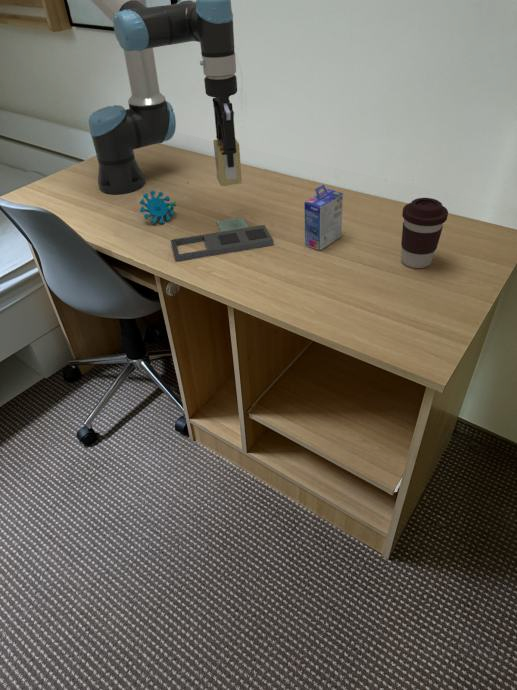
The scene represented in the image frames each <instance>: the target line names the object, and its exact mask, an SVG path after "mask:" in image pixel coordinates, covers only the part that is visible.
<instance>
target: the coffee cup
mask: <svg viewBox="0 0 517 690" xmlns="http://www.w3.org/2000/svg"><path fill="white" fill-rule="evenodd" d="M401 212H402V214H401V215H402V218H403V219H404V220H403V223H402V231H401V256H400V261H401V262H402V264H403V265H405V266H407V267H409V268H413V269H423V268H426V267H428V266H431V264H432V261H433V259H434V256H435V252H436V250H437V248H438V244H439V241H440V238H441V236H442V235H441V234H442V231H443V226H444V225H443V224H444V223H445V222H446V221H447V220H448V217H449V211H448V209H447V207H445V206H444V205H443V203H442V202H441V201H439V200H438V199H435V198H432V197H419V198H416V199H412V201H411V202H410V203H407V204H405V205H404V206H403V208H402V211H401Z"/></svg>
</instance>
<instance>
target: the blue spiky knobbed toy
mask: <svg viewBox="0 0 517 690" xmlns="http://www.w3.org/2000/svg"><path fill="white" fill-rule="evenodd" d="M149 194H150V196H151V198H149ZM155 195H156V191H155V190H150V193H147V192H146V193H144V194H143V195H142V196H143V198H141V199H140V200H139V204H140V205H143V206H140V209H139V210H140V211H139V212H141V213H144V212H145V213H144V215H143V216H144V219H145V220H148V219H149V218H150V217H153V218H151V220H150V222H151V223H152V224H156V222H157V219H158V218H160V219H159V222H158V223H159V225H164V223H165V220H166V222H170V221H171V219H172V217H171V216H174V213H175V211H174V208H175V207H176V206H177V204H178V202H177V201H176V200H174V201H173V202H169V201H170V200H171V198H170V196H169V195H166V196H165V197H163V195H164V193H163V192H162V191H160V190H159V191H158V193H157V196H156V197H154V196H155ZM161 197H163V198H161ZM145 200H146V202H147V203H146V202H145ZM168 202H169V203H168ZM144 206H145V207H146V208H145V207H144ZM146 212H147V213H146ZM168 212H169V214H168ZM169 215H170V216H169ZM164 216H165V220H164Z"/></svg>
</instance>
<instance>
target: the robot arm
mask: <svg viewBox="0 0 517 690" xmlns="http://www.w3.org/2000/svg"><path fill="white" fill-rule="evenodd" d="M90 1H91V3H93V4H94V5H95V6H96V7H97V8H98V9H99V11H101V12H102V14H104V15H105V16H106V18H108V19H109V21H111V23H113V30H114V35H115V38H116V40H117V42H118V44H119V47H121V49H123V55H124V60H125V65H126V70H127V71H126V72H127V75H128V81H129V87H130V91H131V92H130V93H131V95H130V97H129V98H128V100H127V102H128V103H127V104H128V108H127V109H125V107H124V106H122V105H120V104H119V105H117V104H116V105H112V106H111V105H107V106H105V107H102V108H100V109H97V110H96V111H93V112H92V113H91V114H90V115H89V117H88V126H89V134H90V136H91V139H92V143H93V147H94V150H95V154H96V158H97V161H98V163H97V164H98V172H97V173H98V174H97V184H98V188H99V191H101V192H102V193H105V194H109V195H121V194H128V193H131V192H134V191H137V190H139V189H141V188H143V187H144V185H145V184H146V180H145V175H144V173H143V171H142V169H141V168H140V166H139V163H138V162H137V160H136V157H135V151H134V150H137V149H141V148H144V147H149V146H152V145H157V144H163V142H167V141H171V139H172V138H173V136H174V135H175V132H176V128H177V125H176V123H177V121H176V115H175V112H174V108H173V106H172V105H171V103H170V102H169V101H167V100H166V96H165V95H163V94H162V93H161V92H160V85H159V80H158V79H159V78H158V74H157V67H156V66H157V65H156V59H155V54H154V52H155V51H154V48H159V47H165V46H171V45H178V44H183V43H189V42H197V43H199V44H200V51H201V52H200V54H201V59H202V60H200V61H199V65H200V66H202V68H203V69H202V70H203V75H204V76H205V77H204V79H203V81H204V88H205V94H206V96H209V97H210V98H212V104H213V105H212V107H213V111H214V121H215V134H216V140H217V139H223V145H224V152H221V153H222V155H224V165H225V176H226V180H228V179H235V178H237V177H236V164H235V153H236V151H237V150H236V142H235V139H236V131H235V120H234V119H235V112H234V109H233V103H232V102H231V101H230V96H234V95H236V94H237V93H238V82H237V81H238V80H237V79H238V78H237V75H236V73H237V63H236V52H235V36H234V35H235V34H234V13H233V11H232V10H233V9H232V2H231V0H195V1H193V0H181V1H178V2H177V3H173V4H167V5H159V6H149V7H148V6H147V0H90Z"/></svg>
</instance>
